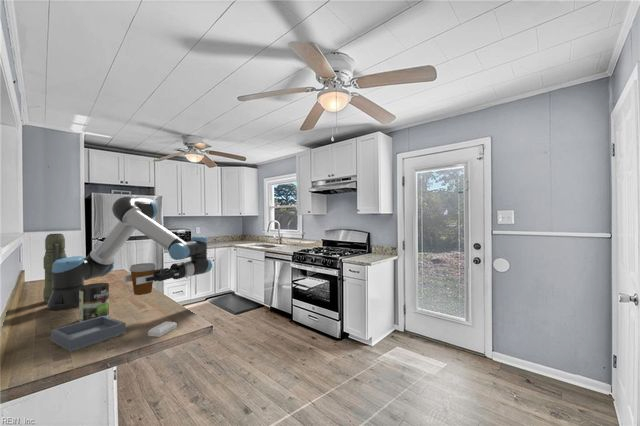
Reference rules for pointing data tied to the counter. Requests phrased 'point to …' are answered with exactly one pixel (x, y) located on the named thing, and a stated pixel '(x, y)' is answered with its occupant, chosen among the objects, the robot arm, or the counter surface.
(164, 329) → the white light switch
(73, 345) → the square open box
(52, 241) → the thermos
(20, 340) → the counter surface
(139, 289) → the disposable coffee cup
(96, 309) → the coffee can
